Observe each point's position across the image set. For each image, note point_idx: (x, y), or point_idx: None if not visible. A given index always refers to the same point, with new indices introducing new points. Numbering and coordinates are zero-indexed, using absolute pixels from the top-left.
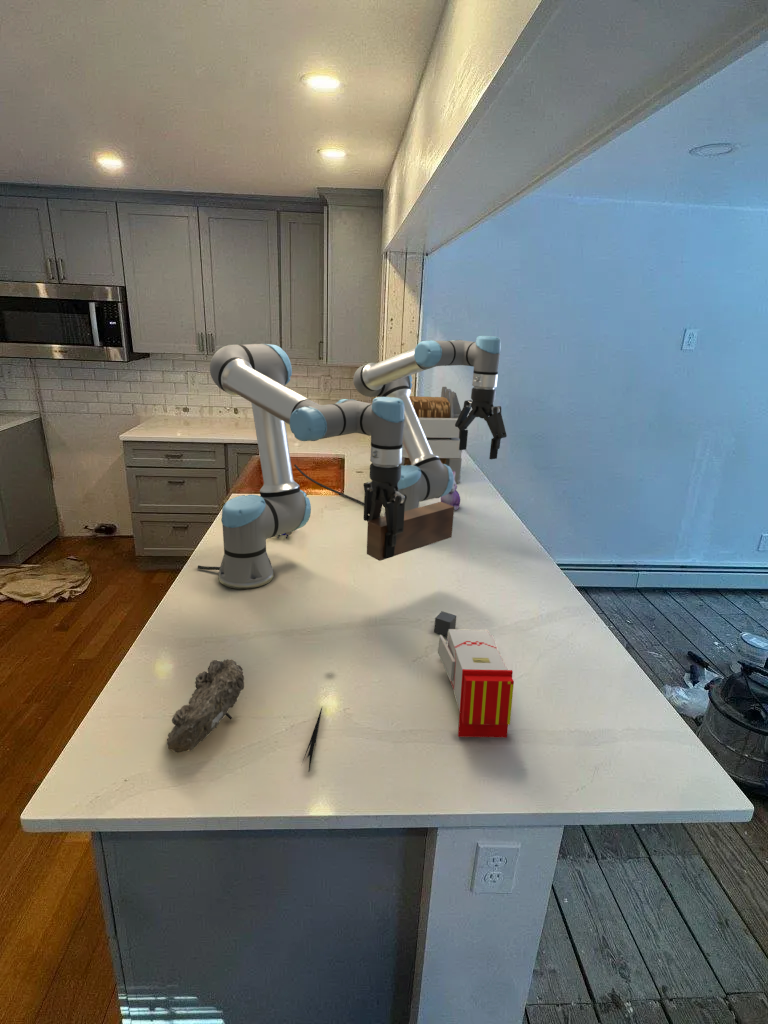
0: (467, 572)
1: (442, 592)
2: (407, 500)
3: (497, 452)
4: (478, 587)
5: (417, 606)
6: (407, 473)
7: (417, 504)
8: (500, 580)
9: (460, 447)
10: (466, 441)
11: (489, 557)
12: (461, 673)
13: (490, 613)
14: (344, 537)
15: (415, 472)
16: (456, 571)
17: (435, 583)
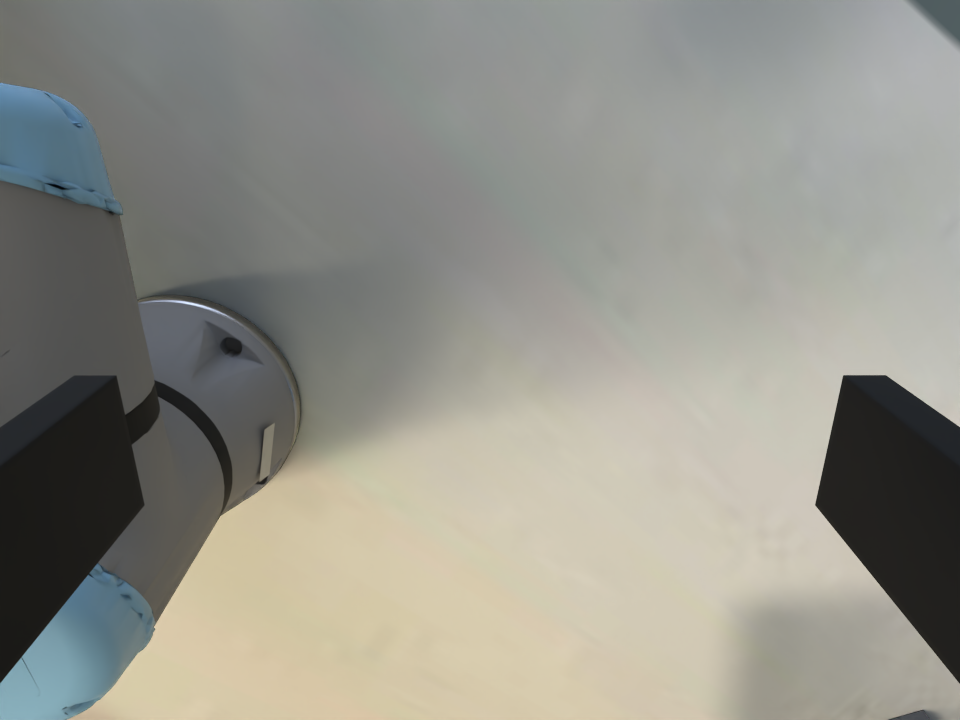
0: (707, 437)
1: (751, 609)
2: (194, 555)
3: (958, 430)
4: None
5: (757, 712)
6: (48, 679)
7: (194, 450)
8: None
9: (112, 533)
10: (23, 467)
11: (671, 238)
12: None
13: None
14: None
15: (58, 634)
16: (671, 466)
17: (688, 588)
